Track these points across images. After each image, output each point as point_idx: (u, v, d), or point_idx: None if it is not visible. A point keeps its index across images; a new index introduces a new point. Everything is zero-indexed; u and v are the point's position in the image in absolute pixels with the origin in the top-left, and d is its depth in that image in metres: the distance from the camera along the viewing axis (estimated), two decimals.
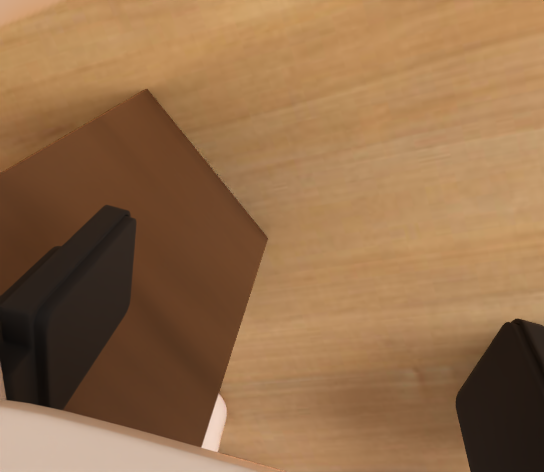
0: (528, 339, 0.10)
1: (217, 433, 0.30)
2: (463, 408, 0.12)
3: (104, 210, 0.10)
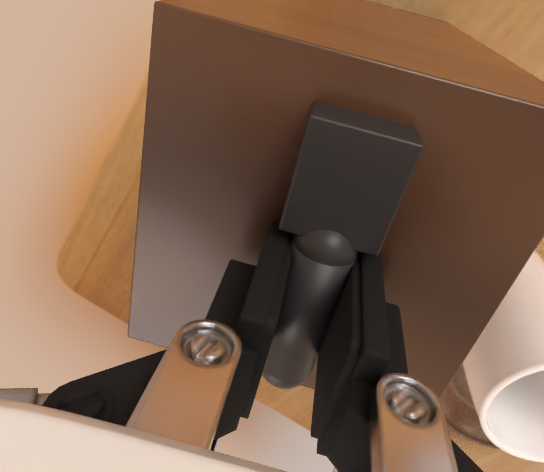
0: (363, 261, 0.11)
1: None
2: None
3: (273, 226, 0.11)
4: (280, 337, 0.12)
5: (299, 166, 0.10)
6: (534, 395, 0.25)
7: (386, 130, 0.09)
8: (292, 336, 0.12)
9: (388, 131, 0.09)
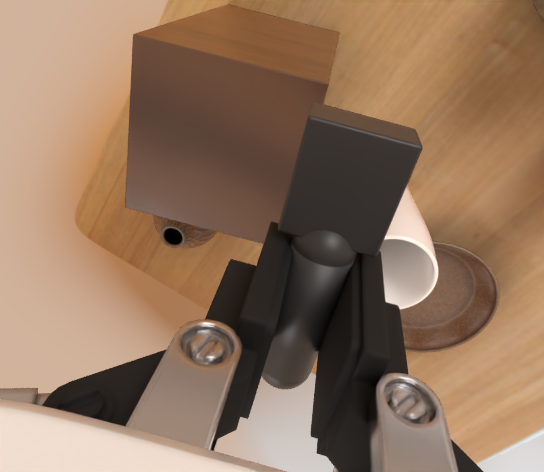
0: (363, 262, 0.11)
1: None
2: None
3: (273, 227, 0.11)
4: (279, 338, 0.12)
5: (298, 167, 0.10)
6: (395, 277, 0.38)
7: (385, 131, 0.10)
8: (291, 337, 0.12)
9: (386, 132, 0.09)
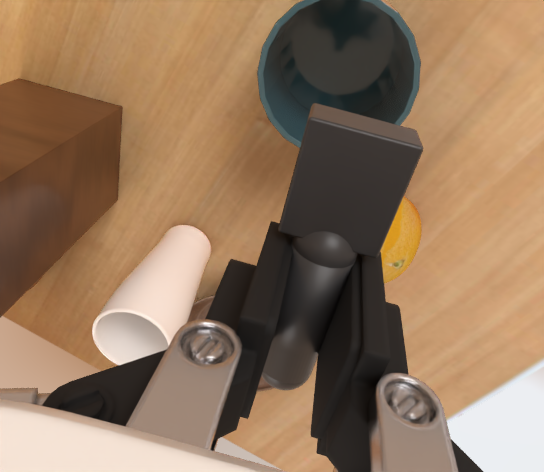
0: (363, 261, 0.11)
1: (191, 241, 0.45)
2: None
3: (273, 226, 0.11)
4: (279, 339, 0.12)
5: (298, 168, 0.10)
6: (164, 337, 0.41)
7: (385, 132, 0.09)
8: (291, 338, 0.12)
9: (387, 133, 0.09)
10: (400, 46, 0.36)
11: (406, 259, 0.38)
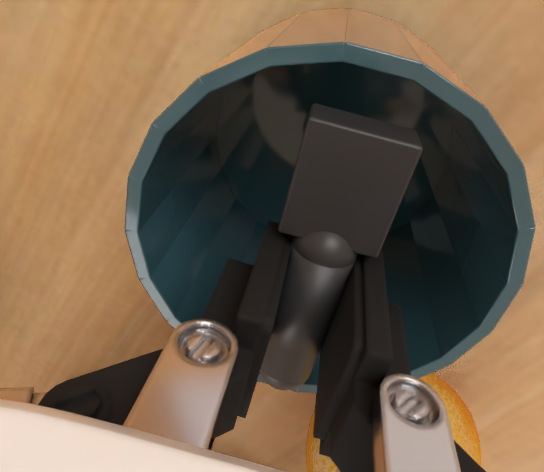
0: (365, 262, 0.11)
1: None
2: None
3: (271, 226, 0.11)
4: (279, 339, 0.12)
5: (298, 168, 0.10)
6: None
7: (385, 132, 0.10)
8: (291, 338, 0.12)
9: (387, 133, 0.09)
10: (449, 129, 0.18)
11: None
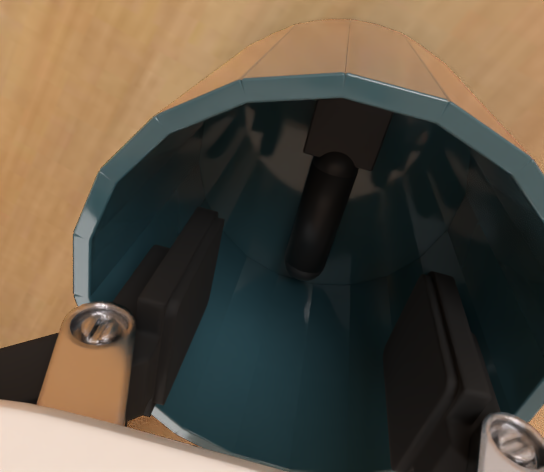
0: (437, 288, 0.11)
1: None
2: (387, 357, 0.12)
3: (198, 211, 0.11)
4: (302, 236, 0.17)
5: (318, 105, 0.14)
6: None
7: None
8: (311, 234, 0.16)
9: None
10: (466, 158, 0.16)
11: None
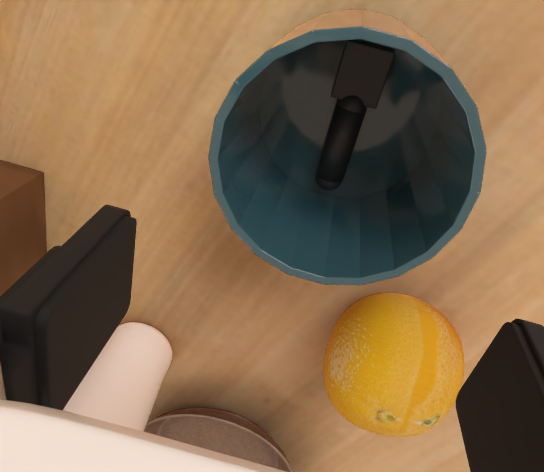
0: (528, 339, 0.10)
1: (142, 351, 0.33)
2: (464, 408, 0.11)
3: (104, 210, 0.10)
4: (328, 155, 0.25)
5: (341, 63, 0.23)
6: None
7: (379, 47, 0.22)
8: (334, 153, 0.25)
9: (380, 47, 0.22)
10: (438, 101, 0.24)
11: (442, 414, 0.26)
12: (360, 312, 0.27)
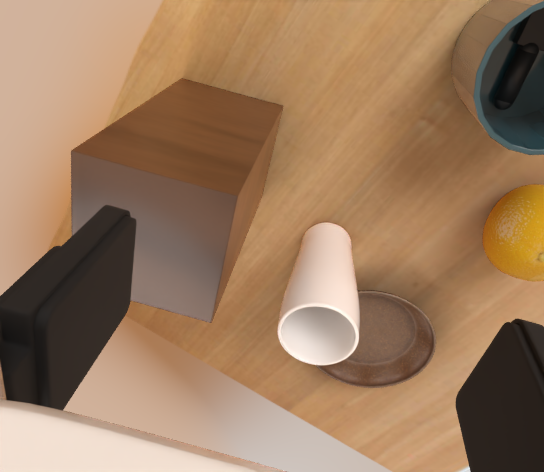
0: (528, 339, 0.10)
1: (341, 238, 0.46)
2: (464, 409, 0.11)
3: (104, 210, 0.10)
4: (509, 84, 0.38)
5: (528, 21, 0.36)
6: (329, 332, 0.42)
7: None
8: (514, 82, 0.38)
9: None
10: None
11: None
12: (520, 193, 0.40)
